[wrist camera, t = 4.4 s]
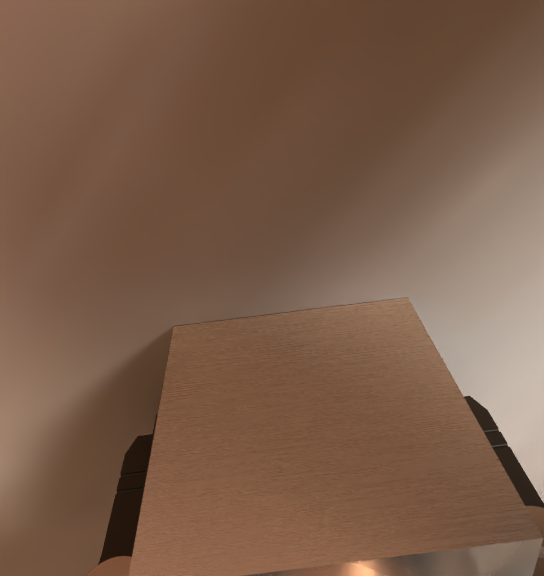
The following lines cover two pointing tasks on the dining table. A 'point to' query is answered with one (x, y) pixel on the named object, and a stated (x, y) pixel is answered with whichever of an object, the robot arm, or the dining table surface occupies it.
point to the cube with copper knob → (323, 455)
